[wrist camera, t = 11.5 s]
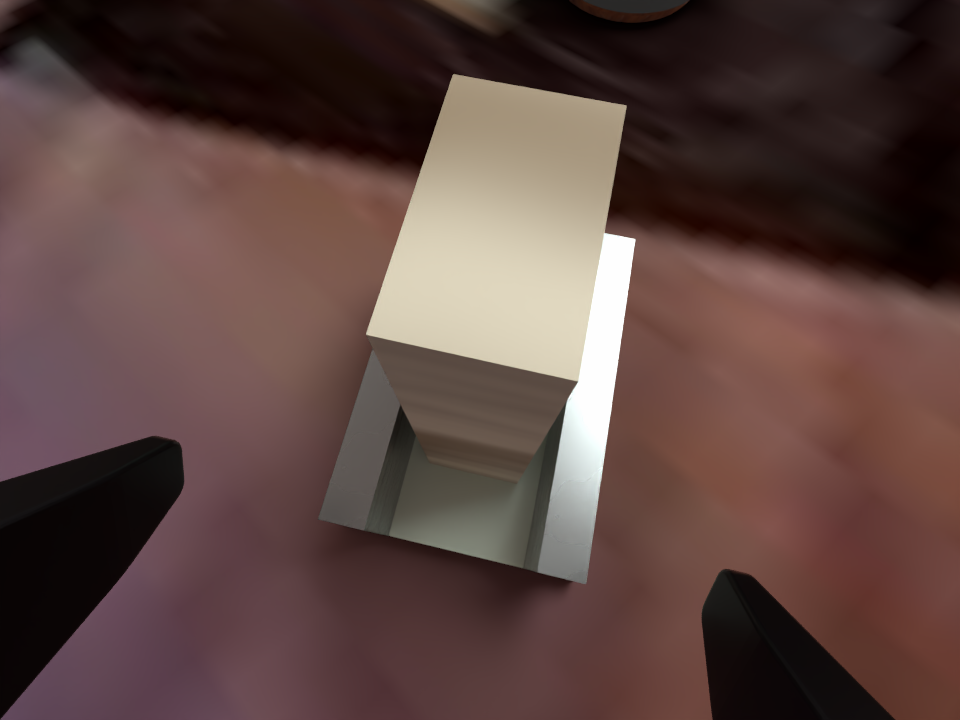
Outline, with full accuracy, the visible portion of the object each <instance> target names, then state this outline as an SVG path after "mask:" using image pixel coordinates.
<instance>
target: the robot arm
mask: <svg viewBox="0 0 960 720" xmlns="http://www.w3.org/2000/svg"><path fill="white" fill-rule="evenodd" d="M183 486H184V470H183V458H182V448H181V445H180V444H179V442H177V441H175V440H172V439H168V438H163V437H159V436H151V437H147V438H144V439H141V440H137V441H134V442H131V443H127V444H124V445H121V446H118V447H114V448H111V449H108V450H104V451H101V452H98V453H94V454H91V455H88V456H84V457H81V458H78V459H74V460H71V461H68V462H64V463H61V464H58V465H55V466H51V467H48V468H45V469H41V470H38V471H35V472H31V473H28V474H25V475H21V476H18V477H15V478H11V479H8V480H5V481H1V482H0V719H1V718H2V717H3V716H4V714H5V713H6V712H7V711H8V710H9V709H10V707H11V706H12V705H13V704H14V703H15V702H16V700H17V699H18V698H19V697H20V696H21V694H22V693H23V692H24V691H25V690H26V689H27V687H28V686H29V685H30V684H31V683H32V682H33V680H34V679H35V678H36V677H37V676H38V675H39V673H40V672H41V671H42V670H43V669H44V667H45V666H46V665H47V664H48V663H49V662H50V660H51V659H52V658H53V657H54V656H55V655H56V653H57V652H58V651H59V650H60V649H61V648H62V646H63V645H64V644H65V643H66V642H67V640H68V639H69V638H70V637H71V636H72V635H73V633H74V632H75V631H76V630H77V629H78V628H79V626H80V625H81V624H82V623H83V622H84V621H85V619H86V618H87V617H88V616H89V615H90V613H91V612H92V611H93V610H94V609H95V608H96V606H97V605H98V604H99V603H100V602H101V601H102V599H103V598H104V597H105V596H106V595H107V594H108V592H109V591H110V590H111V589H112V588H113V586H114V585H115V584H116V583H117V581H118V580H119V579H120V578H121V577H122V575H123V574H124V573H125V571H126V570H127V569H128V567H129V566H130V565H131V563H132V562H133V561H134V559H135V558H136V557H137V555H138V554H139V552H140V551H141V549H142V548H143V547H144V545H145V544H146V542H147V541H148V539H149V538H150V537H151V535H152V534H153V532H154V531H155V529H156V528H157V527H158V525H159V524H160V522H161V521H162V519H163V518H164V517H165V515H166V514H167V512H168V511H169V509H170V508H171V507H172V505H173V504H174V502H175V501H176V499H177V498H178V497H179V495H180V493H181V491H182V489H183ZM702 628H703V638H704V647H705V656H706V665H707V675H708V684H709V693H710V703H711V711H712V718H713V720H895V719H894V718H893V717H892V716H891V715H890V714H889V713H888V712H887V711H886V710H885V709H884V708H883V707H882V706H881V705H880V704H879V703H878V702H877V701H876V700H875V699H874V698H873V697H872V696H871V695H870V694H869V693H868V692H867V691H866V690H865V689H864V688H863V687H862V686H861V685H860V684H859V683H858V682H857V681H856V680H855V679H854V678H853V677H852V676H851V675H850V674H849V673H848V672H847V671H846V670H845V669H844V668H843V667H842V666H841V665H840V664H839V663H838V662H837V661H836V660H835V659H834V658H833V657H832V656H831V655H830V654H829V653H828V652H827V650H826V649H825V648H824V647H823V646H822V645H821V644H820V643H819V642H818V641H817V640H816V639H815V638H814V637H813V636H812V635H811V634H810V633H809V632H808V631H807V630H806V629H805V628H804V627H803V626H802V625H801V624H800V623H799V622H798V621H797V620H796V619H795V618H794V617H793V616H792V615H791V614H790V613H789V612H788V611H787V610H786V609H785V608H784V607H783V606H782V605H781V604H780V603H779V602H778V601H777V600H776V599H775V598H774V597H773V596H772V595H771V594H770V593H769V592H768V591H767V590H766V589H765V588H764V587H763V586H762V585H761V584H760V583H759V582H758V581H757V580H756V579H755V578H754V577H753V576H751V575H749V574H747V573H743V572H739V571H734V570H730V569H724V570H722V571H721V572H720V573H719V574H718V576H717V578H716V580H715V582H714V584H713V586H712V588H711V590H710V592H709V594H708V596H707V598H706V601H705V603H704V605H703V609H702Z"/></svg>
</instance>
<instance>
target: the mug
mask: <svg viewBox="0 0 960 720" xmlns="http://www.w3.org/2000/svg"><path fill="white" fill-rule="evenodd" d="M569 1H570V2H571V3H572V4H574V5H575V6H577V7H578V8H579V9H581V10H583V11H585V12H587V13H589V14H591V15H594V16H596V17H599V18H603V19H606V20H611V21H616V22H625V23H638V22H648V21H653V20H657V19H660V18H664V17H666V16H668V15H671V14H672V13H674V12H676V11H678V10H679V9H680V8H681V7H683V6H684V5H685V4H686V3H688V2H689V0H569Z"/></svg>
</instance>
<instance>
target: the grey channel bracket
mask: <svg viewBox="0 0 960 720" xmlns="http://www.w3.org/2000/svg"><path fill="white" fill-rule="evenodd" d="M634 245H635V239H632V238H627V237H622V236H616V235H611V234H606V233H604V237H603V243H602V249H601V255H600V260H599V266H598V272H597V277H596V283H595V289H594V295H593V300H592V306H591V312H590V317H589V323H588V329H587V335H586V340H585V346H584V352H583V358H582V363H581V369H580V375H579V380H578V383H577V385H576V386H575V388H574V390H573V391H572V393H571V395H570V396H569V398H568V400H567V401H566V403H565V405H564V406H563V408H562V410H561V411H560V413H559V415H558V416H557V418H556V420H555V421H554V423H553V425H552V426H551V428H550V430H549V431H548V433H547V435H546V436H545V438H544V440H543V441H542V443H541V445H540V446H539V448H538V450H537V451H536V453H535V455H534V456H533V458H532V460H531V461H530V463H529V465H528V466H527V468H526V470H525V471H524V473H523V475H522V476H521V478H520V480H519V481H518V483H517V484H516V483H512V482H507V481H503V480H499V479H495V478H490V477H486V476H482V475H478V474H473V473H469V472H465V471H461V470H457V469H452V468H448V467H444V466H440V465H435V464H431V463H429V461H428V459H427V457H426V455H425V453H424V451H423V449H422V447H421V445H420V443H419V441H418V438H417V436H416V434H415V432H414V430H413V428H412V426H411V424H410V422H409V420H408V418H407V416H406V414H405V412H404V410H403V408H402V406H401V404H400V402H399V400H398V398H397V396H396V394H395V392H394V390H393V388H392V386H391V384H390V382H389V380H388V378H387V376H386V374H385V372H384V370H383V368H382V366H381V364H380V362H379V360H378V358H377V356H376V354H375V352H374V350H373V349H372V352H371V355H370V358H369V361H368V365H367V368H366V371H365V374H364V377H363V380H362V383H361V386H360V390H359V393H358V396H357V399H356V402H355V405H354V408H353V411H352V414H351V418H350V421H349V424H348V427H347V430H346V433H345V436H344V439H343V443H342V446H341V449H340V452H339V455H338V458H337V461H336V464H335V467H334V471H333V474H332V477H331V480H330V483H329V486H328V489H327V492H326V496H325V499H324V502H323V505H322V508H321V511H320V514H319V517H318V520H322V521H327V522H331V523H335V524H339V525H343V526H347V527H351V528H356V529H360V530H364V531H369V532H373V533H378V534H383V535H387V536H392V537H396V538H400V539H404V540H408V541H412V542H417V543H421V544H425V545H429V546H433V547H437V548H441V549H446V550H450V551H454V552H458V553H462V554H466V555H470V556H474V557H479V558H483V559H487V560H491V561H495V562H499V563H503V564H508V565H512V566H516V567H520V568H524V569H527V570H531V571H534V572H538V573H542V574H546V575H550V576H554V577H558V578H562V579H566V580H571V581H575V582H579V583H583V584H586V581H587V574H588V567H589V560H590V553H591V546H592V539H593V532H594V525H595V518H596V511H597V504H598V497H599V490H600V483H601V476H602V469H603V462H604V455H605V448H606V441H607V434H608V427H609V420H610V413H611V406H612V399H613V392H614V385H615V378H616V371H617V364H618V357H619V350H620V343H621V336H622V329H623V322H624V315H625V308H626V301H627V294H628V287H629V280H630V273H631V266H632V259H633V252H634Z"/></svg>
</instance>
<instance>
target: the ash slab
mask: <svg viewBox="0 0 960 720" xmlns="http://www.w3.org/2000/svg"><path fill="white" fill-rule="evenodd" d="M625 112H626V106H625V105H620V104H614V103H609V102H603V101H598V100H592V99H587V98H581V97H576V96H570V95H565V94H559V93H554V92H548V91H543V90H537V89H532V88H526V87H521V86H515V85H510V84H504V83H499V82H493V81H488V80H482V79H477V78H471V77H466V76H460V75H455V74H453V76H452V79H451V82H450V85H449V88H448V91H447V94H446V97H445V100H444V103H443V106H442V109H441V112H440V115H439V118H438V121H437V124H436V127H435V130H434V133H433V136H432V139H431V142H430V145H429V148H428V151H427V154H426V157H425V160H424V163H423V166H422V169H421V172H420V175H419V178H418V181H417V184H416V187H415V190H414V193H413V196H412V199H411V202H410V205H409V207H408V210H407V213H406V216H405V219H404V222H403V225H402V228H401V231H400V234H399V237H398V240H397V243H396V246H395V249H394V252H393V255H392V258H391V261H390V264H389V267H388V270H387V273H386V276H385V279H384V282H383V285H382V288H381V291H380V294H379V297H378V300H377V303H376V306H375V309H374V312H373V315H372V318H371V321H370V324H369V327H368V330H367V333H366V336H367V338H368V340H369V342H370V344H371V346H372V348H373V350H374V352H375V354H376V356H377V358H378V360H379V362H380V364H381V366H382V368H383V370H384V372H385V374H386V376H387V378H388V380H389V382H390V384H391V386H392V388H393V390H394V392H395V394H396V396H397V398H398V400H399V402H400V404H401V406H402V408H403V410H404V412H405V414H406V416H407V418H408V420H409V422H410V424H411V426H412V428H413V430H414V432H415V434H416V436H417V438H418V441H419V443H420V445H421V447H422V449H423V451H424V453H425V455H426V457H427V459H428V461H429V463H431V464H435V465H440V466H444V467H448V468H452V469H457V470H461V471H465V472H469V473H473V474H478V475H482V476H486V477H490V478H495V479H499V480H503V481H507V482H512V483H516V484H517V483H518V481H519V480H520V478H521V476H522V475H523V473H524V471H525V470H526V468H527V466H528V465H529V463H530V461H531V460H532V458H533V456H534V455H535V453H536V451H537V450H538V448H539V446H540V445H541V443H542V441H543V440H544V438H545V436H546V435H547V433H548V431H549V430H550V428H551V426H552V425H553V423H554V421H555V420H556V418H557V416H558V415H559V413H560V411H561V410H562V408H563V406H564V405H565V403H566V401H567V400H568V398H569V396H570V395H571V393H572V391H573V390H574V388H575V386H576V385H577V383H578V380H579V375H580V369H581V363H582V358H583V352H584V346H585V340H586V335H587V329H588V323H589V317H590V312H591V306H592V300H593V295H594V289H595V283H596V277H597V272H598V266H599V260H600V255H601V249H602V243H603V237H604V232H605V226H606V220H607V215H608V209H609V203H610V197H611V192H612V186H613V180H614V174H615V169H616V163H617V157H618V152H619V146H620V140H621V134H622V129H623V123H624V117H625Z"/></svg>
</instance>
